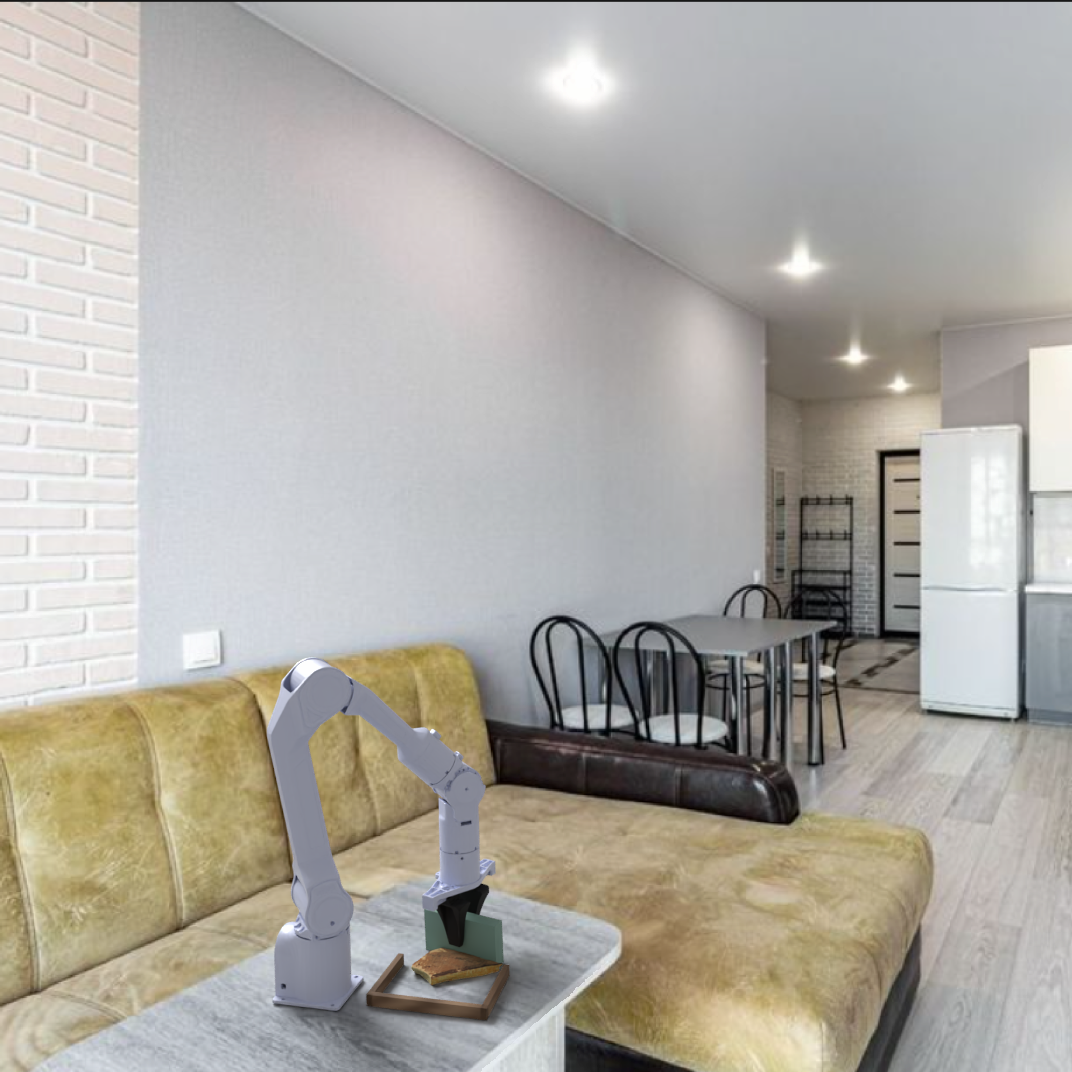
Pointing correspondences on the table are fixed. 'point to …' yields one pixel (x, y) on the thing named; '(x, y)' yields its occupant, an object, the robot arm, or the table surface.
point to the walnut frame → (432, 1005)
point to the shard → (452, 966)
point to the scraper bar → (468, 936)
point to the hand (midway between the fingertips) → (461, 940)
